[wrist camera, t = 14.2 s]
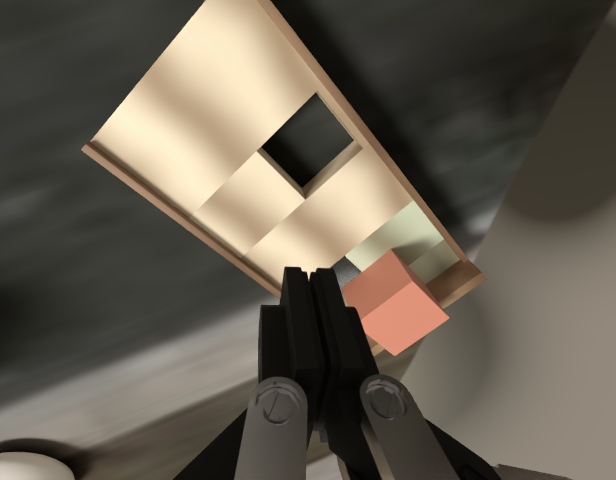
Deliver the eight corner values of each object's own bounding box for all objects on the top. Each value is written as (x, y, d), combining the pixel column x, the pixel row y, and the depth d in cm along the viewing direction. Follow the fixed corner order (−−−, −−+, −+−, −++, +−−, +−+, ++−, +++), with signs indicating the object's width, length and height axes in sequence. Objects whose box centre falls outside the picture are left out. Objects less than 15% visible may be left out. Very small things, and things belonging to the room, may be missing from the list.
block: (390, 248, 27) (412, 281, 24) (424, 283, 30) (449, 318, 26) (341, 288, 29) (354, 324, 25) (377, 318, 31) (394, 356, 27)
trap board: (240, -29, 19) (235, -53, 15) (455, 248, 31) (486, 279, 27) (101, 138, 23) (65, 158, 18) (344, 329, 35) (356, 368, 31)
